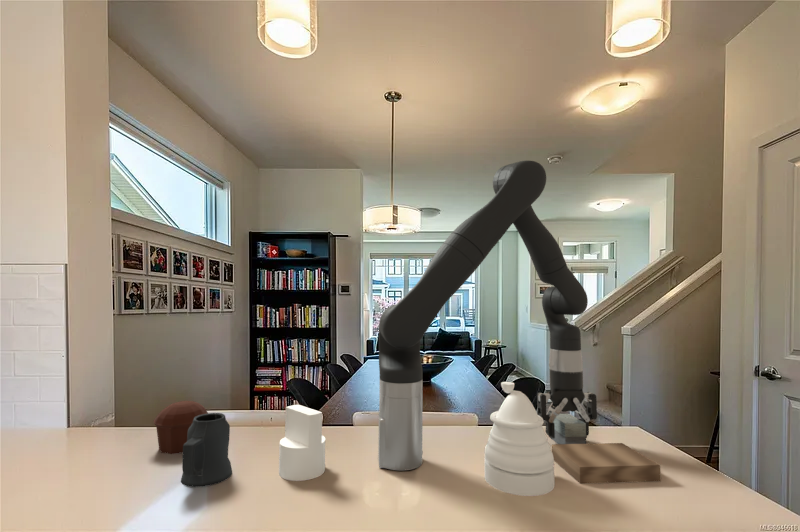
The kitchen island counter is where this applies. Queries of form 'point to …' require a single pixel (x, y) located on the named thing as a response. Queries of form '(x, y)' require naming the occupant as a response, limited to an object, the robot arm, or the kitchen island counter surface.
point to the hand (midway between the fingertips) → (567, 437)
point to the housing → (569, 430)
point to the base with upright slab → (302, 445)
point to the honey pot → (518, 448)
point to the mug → (206, 451)
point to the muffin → (176, 425)
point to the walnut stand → (605, 463)
